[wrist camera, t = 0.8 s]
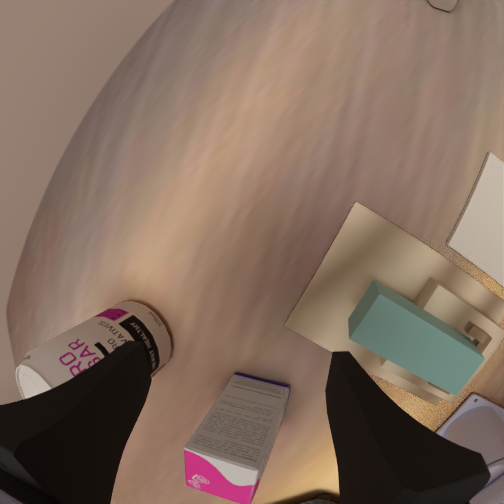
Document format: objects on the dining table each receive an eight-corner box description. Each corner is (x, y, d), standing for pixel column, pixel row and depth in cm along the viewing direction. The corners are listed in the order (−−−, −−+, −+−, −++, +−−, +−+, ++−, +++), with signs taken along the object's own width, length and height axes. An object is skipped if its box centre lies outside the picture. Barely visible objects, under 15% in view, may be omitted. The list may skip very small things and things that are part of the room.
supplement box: (232, 370, 29) (182, 446, 18) (291, 384, 28) (264, 471, 17) (228, 412, 30) (184, 486, 20) (281, 425, 29) (253, 508, 18)
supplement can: (109, 344, 33) (18, 405, 19) (119, 285, 31) (6, 336, 17) (165, 379, 32) (82, 463, 18) (182, 321, 30) (79, 403, 15)
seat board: (508, 304, 21) (526, 319, 17) (435, 403, 24) (443, 426, 21) (355, 201, 23) (358, 202, 20) (284, 323, 27) (276, 342, 23)
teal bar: (469, 338, 20) (485, 358, 17) (444, 372, 21) (455, 395, 18) (373, 279, 21) (379, 293, 18) (347, 318, 22) (348, 338, 19)
